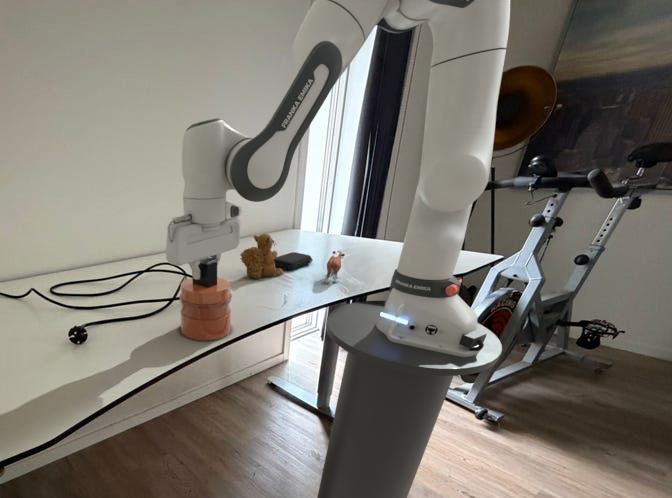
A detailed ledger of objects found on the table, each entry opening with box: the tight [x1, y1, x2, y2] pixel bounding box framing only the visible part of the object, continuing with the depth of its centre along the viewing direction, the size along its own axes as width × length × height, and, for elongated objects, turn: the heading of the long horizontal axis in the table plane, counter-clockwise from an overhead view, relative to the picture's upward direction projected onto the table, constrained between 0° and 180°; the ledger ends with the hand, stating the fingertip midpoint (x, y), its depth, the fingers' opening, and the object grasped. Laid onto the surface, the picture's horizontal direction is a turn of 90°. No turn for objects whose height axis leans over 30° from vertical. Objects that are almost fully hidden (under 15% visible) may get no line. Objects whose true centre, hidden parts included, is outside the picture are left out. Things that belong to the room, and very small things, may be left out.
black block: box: [191, 257, 218, 288], centre depth 85 cm, size 5×3×6 cm, turn 45°
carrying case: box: [274, 251, 314, 271], centre depth 136 cm, size 11×3×15 cm
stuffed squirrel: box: [239, 233, 284, 280], centre depth 124 cm, size 10×14×13 cm
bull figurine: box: [324, 249, 345, 284], centre depth 120 cm, size 4×13×8 cm, turn 152°
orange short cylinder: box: [178, 276, 233, 341], centre depth 89 cm, size 12×12×12 cm
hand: (205, 276), depth 86 cm, fingers open, 3 cm apart
